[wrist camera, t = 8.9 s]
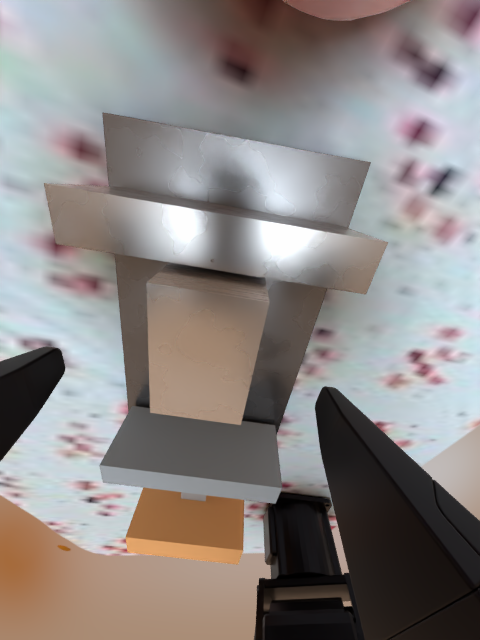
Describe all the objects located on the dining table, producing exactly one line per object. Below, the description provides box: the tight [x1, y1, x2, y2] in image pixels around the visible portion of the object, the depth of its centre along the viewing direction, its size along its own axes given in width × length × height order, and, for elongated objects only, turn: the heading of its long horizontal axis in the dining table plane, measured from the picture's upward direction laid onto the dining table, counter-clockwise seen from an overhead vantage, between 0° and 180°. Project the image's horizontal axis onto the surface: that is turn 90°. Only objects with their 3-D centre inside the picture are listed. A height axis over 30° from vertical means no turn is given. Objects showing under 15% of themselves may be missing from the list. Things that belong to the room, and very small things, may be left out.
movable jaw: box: [100, 406, 282, 564], centre depth 21 cm, size 12×13×5 cm
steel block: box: [147, 263, 270, 425], centre depth 12 cm, size 4×6×7 cm, turn 171°
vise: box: [44, 113, 388, 435], centre depth 15 cm, size 13×24×6 cm, turn 171°
